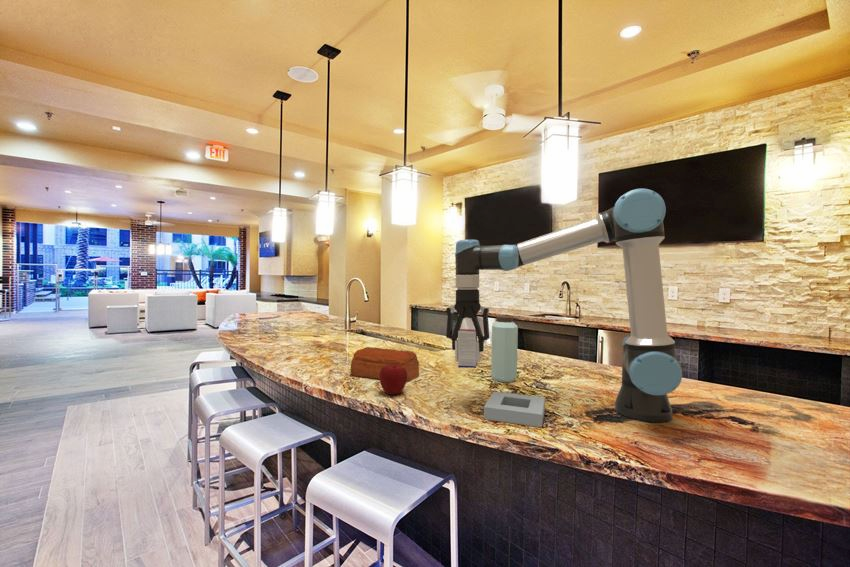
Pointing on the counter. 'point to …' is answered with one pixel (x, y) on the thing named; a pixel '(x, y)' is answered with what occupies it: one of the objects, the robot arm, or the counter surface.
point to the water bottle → (504, 349)
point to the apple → (393, 378)
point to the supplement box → (467, 348)
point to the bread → (383, 362)
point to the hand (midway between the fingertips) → (467, 360)
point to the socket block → (515, 409)
